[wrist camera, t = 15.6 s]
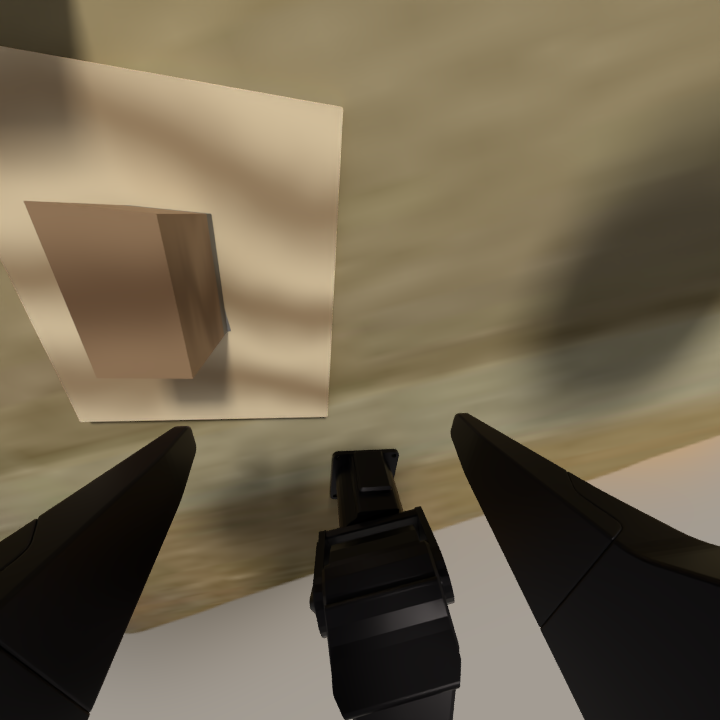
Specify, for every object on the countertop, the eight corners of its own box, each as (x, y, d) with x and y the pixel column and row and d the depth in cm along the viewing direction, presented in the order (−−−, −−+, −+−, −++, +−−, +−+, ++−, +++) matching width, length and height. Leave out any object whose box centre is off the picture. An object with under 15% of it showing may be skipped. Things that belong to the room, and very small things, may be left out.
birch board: (327, 410, 24) (327, 417, 23) (88, 414, 21) (80, 422, 20) (341, 112, 14) (343, 106, 14) (-89, 37, 11) (-117, 24, 11)
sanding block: (227, 331, 18) (192, 378, 13) (161, 329, 18) (96, 378, 12) (211, 213, 15) (156, 213, 10) (129, 205, 14) (23, 200, 9)
